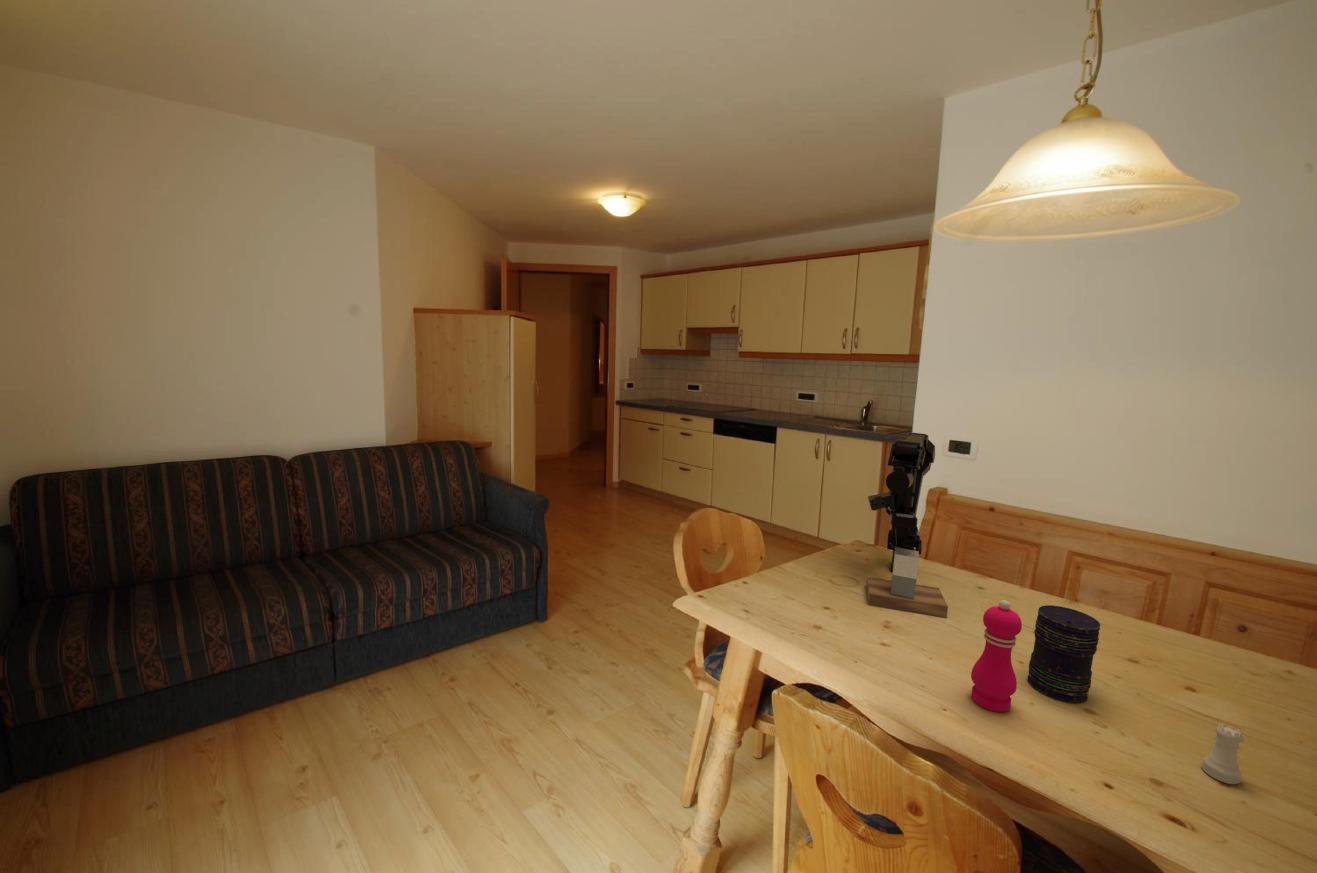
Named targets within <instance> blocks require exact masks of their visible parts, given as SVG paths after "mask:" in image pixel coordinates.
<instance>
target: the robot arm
mask: <svg viewBox="0 0 1317 873" xmlns="http://www.w3.org/2000/svg"><path fill="white" fill-rule="evenodd" d="M935 459H936V446H935V444H934V443H932V441H931V440H930V439H929V435H928V434H926V433H919V432H910V433H909V435H908V437H907V438H906V439H896V440H895V441H894V442H893V443H892V444H891V449H890V453H889V457H888V462H887V466H888V467H889V466H891V467H893V468H892V471H891V472H889V473H888V475H887V476H886V479H885V486H886V487H887V488H888V492H883V493H878V494H877V493H876V494H874V495H869V496H867V498H868V503H869V507H870V509H871V511H878V510H880V509H885V511H886V513H887V515H889V522H890V524H891V529H889V530H888V535H887V546H886V549H887V550H889V551H892V555H891V557H892V558H891V563H890V562H889V563H888V567H889V571H890V572H891V573H893V564H894V555H895V547H896V548H902V549H908V550H914V551H919V556H920V555H922V548H923V547H922V546H923V543H922V542H923V541H922V539H921V535H920V534H919V532H920V530H919V529H918V528H919V527H918V520H919V519H918V517H917V513H918V512H917V511H918V507H919V506H918V505H919V501H920V496H921V490H922V484H923V479H924V476H926V474H927V473H929V471H930V470H931V467H932V464H934V463H935Z"/></svg>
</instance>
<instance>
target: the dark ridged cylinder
mask: <svg viewBox="0 0 1317 873" xmlns="http://www.w3.org/2000/svg"><path fill="white" fill-rule="evenodd" d="M1037 610H1038V611H1037V616H1036V620H1035V625H1034V626H1035V628H1034V630H1033V631H1034V632H1033V633H1034V645H1033V650H1032V652H1031V655H1030V660H1029V663H1028V674H1027V677H1026V679H1027V680H1026V681H1027V683H1028V685H1029V686H1030V687H1031V688H1032V689H1034V690H1035V691H1036V692H1038V693H1040V694H1041V695H1043V696H1045V697H1047V698H1050V699H1053V700H1055V701H1058V702H1061V703H1062V702H1063V703H1067V704H1075V705H1079V704H1080V705H1081V704H1084V703H1086V702H1087V701H1088V697H1089V694H1088V693H1090V692H1089V691H1090V689H1091V685H1092V675H1093V672H1092V671H1093V670H1092V666H1093V660H1094V655H1095V654H1096V652H1097V650H1098V647H1097V646H1098V644H1099V639H1100V638H1099V636H1100V630H1101V622H1099V620H1097V619H1096V618H1095V617H1093V616H1091V615H1089V614H1086V613H1084V612H1083V611H1080V610H1076V609H1074V608H1069V607H1065V606H1059V605H1051V604H1050V605H1047V604H1046V605H1042V606H1039V607H1038V609H1037Z"/></svg>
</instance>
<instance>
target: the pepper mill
mask: <svg viewBox="0 0 1317 873" xmlns="http://www.w3.org/2000/svg"><path fill="white" fill-rule="evenodd" d="M998 602H999V603H998V605H997V606H995V605H994V606H991V607H988V608H987V609H986V610H985V611H984V613H983V615H982V622H983V626H984V627H985V629H984V634H983V638H984V639H985V644H984V648H983V649H984V650H983V651H982V653H981V655H980V657H979V658H978V659H977V660H976V662H975V663H974V665H973V667H972V669H971V672H970V678H971V681H972V682H973V686H972V688H971V694H970V695H971V699H972V701H973V702H974V703H975V704H976V705H979V707H982V708H984V709H986V710H988V711H992V712H995V713H1006V712H1008V711H1010V709H1011V703H1012V698H1011V696H1012V695H1014V694H1015V693H1016V692H1017V688H1018V687H1017V685H1018V682H1017V676H1016V673H1015V670H1014V669H1013V668H1014V667H1013V663H1012V650H1013V648H1014V647H1015V646H1016V645H1017V643H1016V641H1017V635H1019V634H1020V633H1021V631H1022V627H1023V625H1022V624H1023V623H1022V619H1021V617H1020V616H1019V614H1018V613H1017V612H1015V610H1012V609H1011V603H1010V602H1009V601H1008V600H1006V599H1001V600H1000V601H998Z"/></svg>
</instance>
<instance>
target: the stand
mask: <svg viewBox="0 0 1317 873" xmlns="http://www.w3.org/2000/svg"><path fill="white" fill-rule="evenodd" d="M891 581H892V580H889V579H882V578H875V577H870V576H867V577H866V585H865V591H866V595H867V596H866V597H867V601H868V606H870V607H871V606H872V607H875V608H884V609H889V610H894V611H900V612H907V613H912V614H919V615H925V616H930V617H937V618H944V619H947V618H948V611H949V610H948V609H949V606H948V603H947V602H946V600H945V597H944V596H943V593H942V591H941V589H940V587H937V586H931V585H929V586H928V585H922V584H917V583H916V588H915V597H914V600H912V599H907V598H902V597H897V596H892V595H891Z"/></svg>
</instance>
